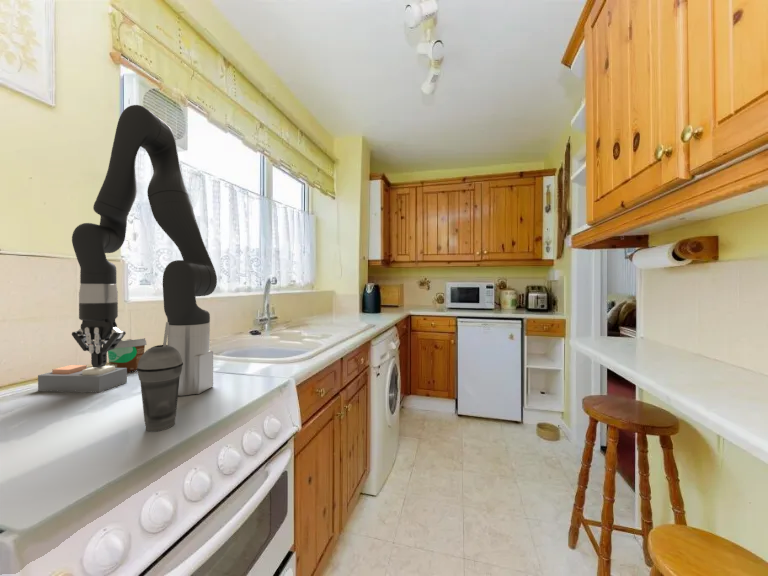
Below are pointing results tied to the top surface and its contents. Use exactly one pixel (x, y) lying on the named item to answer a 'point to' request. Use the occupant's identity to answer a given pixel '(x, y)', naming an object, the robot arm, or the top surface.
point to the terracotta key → (69, 369)
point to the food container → (127, 354)
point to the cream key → (98, 370)
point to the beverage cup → (160, 384)
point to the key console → (81, 381)
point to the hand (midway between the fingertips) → (98, 366)
